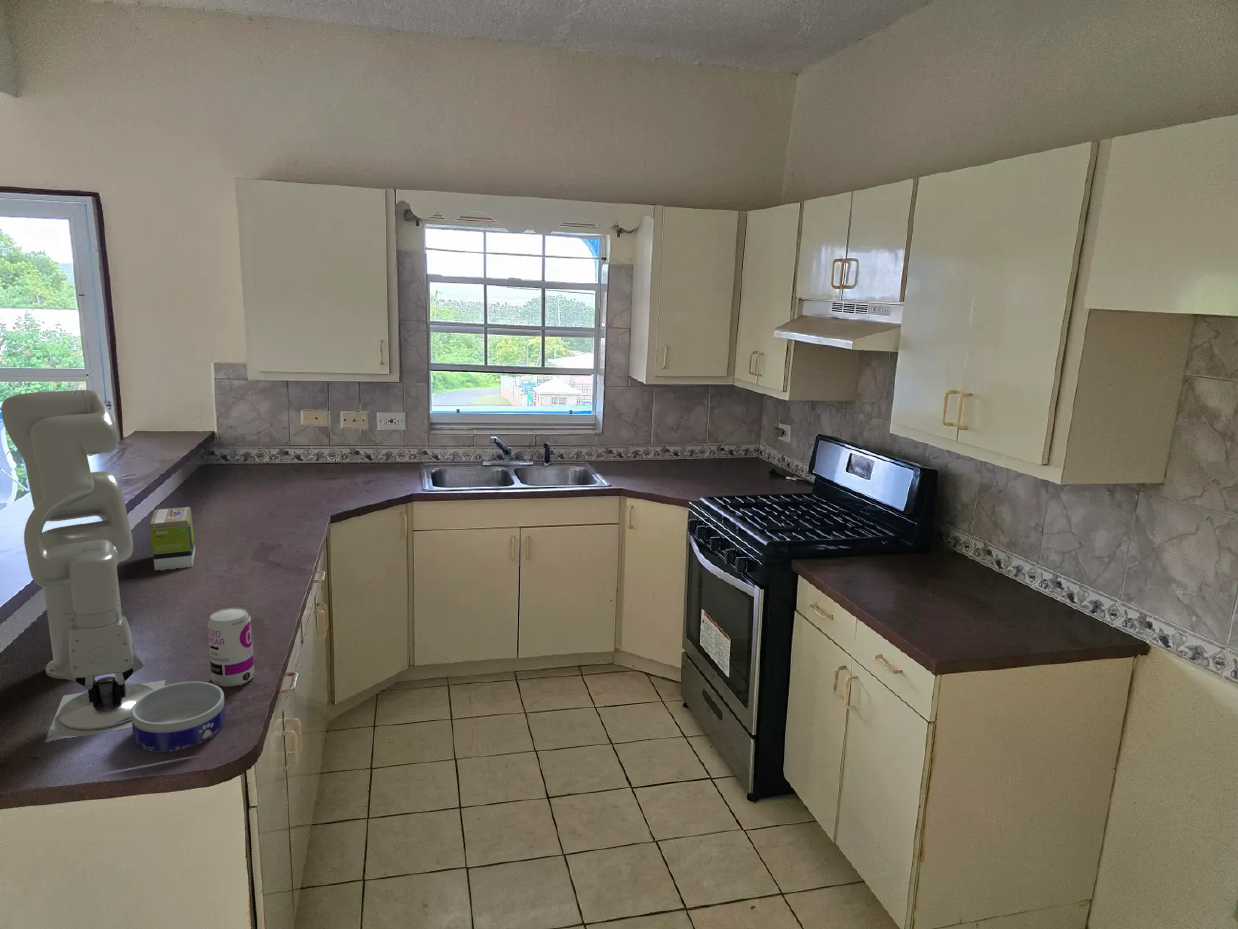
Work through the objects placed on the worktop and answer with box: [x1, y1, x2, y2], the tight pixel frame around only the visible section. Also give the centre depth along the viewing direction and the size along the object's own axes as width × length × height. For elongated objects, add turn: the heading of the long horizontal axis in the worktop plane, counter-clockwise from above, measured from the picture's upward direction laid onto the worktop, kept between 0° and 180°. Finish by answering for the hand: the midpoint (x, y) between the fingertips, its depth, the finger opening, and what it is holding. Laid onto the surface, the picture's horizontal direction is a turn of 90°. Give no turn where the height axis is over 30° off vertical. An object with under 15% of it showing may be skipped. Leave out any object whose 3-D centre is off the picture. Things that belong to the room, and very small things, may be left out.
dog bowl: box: [131, 680, 226, 751], centre depth 149 cm, size 15×15×6 cm
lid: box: [59, 676, 153, 731], centre depth 155 cm, size 16×16×6 cm
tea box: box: [149, 506, 196, 571], centre depth 235 cm, size 15×10×15 cm
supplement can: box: [206, 607, 255, 687], centre depth 168 cm, size 8×8×15 cm
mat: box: [44, 679, 166, 743], centre depth 156 cm, size 18×18×1 cm
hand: (108, 701), depth 156 cm, fingers closed on lid, 3 cm apart
